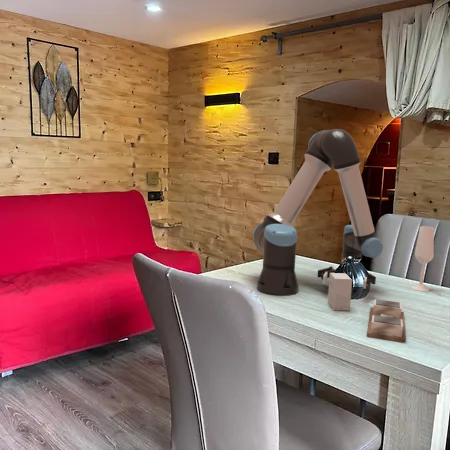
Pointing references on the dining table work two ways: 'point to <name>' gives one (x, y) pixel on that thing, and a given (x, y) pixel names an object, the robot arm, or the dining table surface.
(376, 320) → the board
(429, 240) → the champagne flute
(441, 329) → the dining table surface
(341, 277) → the small box
